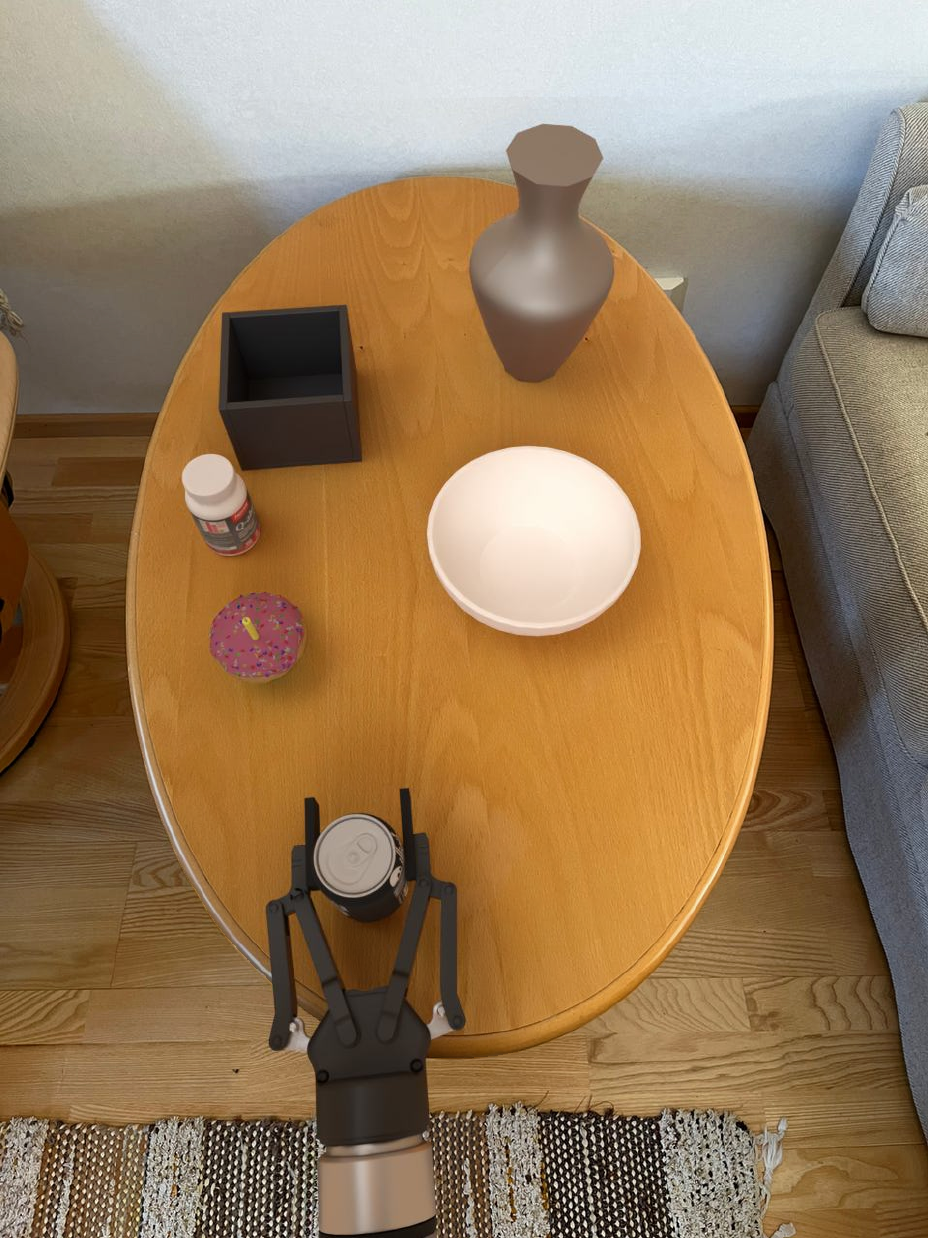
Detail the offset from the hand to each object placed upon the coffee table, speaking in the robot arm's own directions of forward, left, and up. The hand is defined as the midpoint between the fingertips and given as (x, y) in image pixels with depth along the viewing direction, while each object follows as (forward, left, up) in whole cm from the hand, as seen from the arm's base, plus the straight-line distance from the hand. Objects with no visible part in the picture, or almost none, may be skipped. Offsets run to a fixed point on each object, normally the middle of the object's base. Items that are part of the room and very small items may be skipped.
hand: (358, 797), depth 65 cm
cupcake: (-9, +16, -7) cm, 20 cm away
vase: (+21, +50, -7) cm, 55 cm away
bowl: (+17, +23, -7) cm, 29 cm away
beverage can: (0, -5, -7) cm, 9 cm away
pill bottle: (-12, +30, -7) cm, 33 cm away
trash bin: (-5, +44, -7) cm, 45 cm away
